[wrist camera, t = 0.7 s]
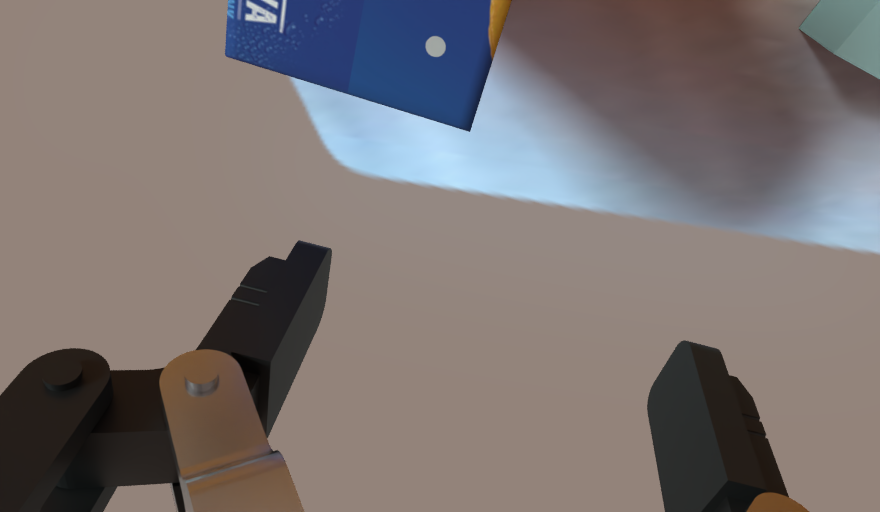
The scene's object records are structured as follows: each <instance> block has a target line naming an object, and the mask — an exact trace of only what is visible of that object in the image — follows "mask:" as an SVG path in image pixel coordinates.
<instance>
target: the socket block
mask: <svg viewBox="0 0 880 512" xmlns="http://www.w3.org/2000/svg"><path fill="white" fill-rule="evenodd" d="M799 29H800V30H801V31H803V32H804V33H806V34H807V35H808V36H810V37H811V38H812V39H814V40H815V41H817V42H818V43H819V44H821V45H822V46H823V47H825V48H826V49H828V50H829V51H830V52H832V53H833V54H835V55H836V56H838V57H840V58H842V59H844V60H846V61H847V62H849V63H851V64H853V65H855V66H856V67H858V68H860V69H862V70H864V71H865V72H867V73H869V74H871V75H873V76H874V77H876V78H878V79H880V0H820V2H819V3H818V4H817V5H816V7H815V8H814V9H813V10H812V12H811V13H810V14H809V16H808V17H807V18H806V19H805V21H804V22H803V23H802V24H801V26H800V27H799Z"/></svg>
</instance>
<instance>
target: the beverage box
mask: <svg viewBox="0 0 880 512" xmlns="http://www.w3.org/2000/svg"><path fill="white" fill-rule="evenodd" d="M511 1H512V0H228V13H227V31H226V49H225V55H226V56H227V57H230V58H233V59H236V60H239V61H242V62H246V63H249V64H252V65H255V66H259V67H262V68H265V69H269V70H272V71H275V72H278V73H281V74H284V75H288V76H291V77H294V78H297V79H301V80H304V81H307V82H310V83H314V84H317V85H320V86H323V87H327V88H330V89H333V90H336V91H340V92H343V93H346V94H349V95H353V96H356V97H359V98H362V99H366V100H369V101H372V102H375V103H378V104H382V105H385V106H388V107H391V108H395V109H398V110H401V111H404V112H408V113H411V114H414V115H417V116H421V117H424V118H427V119H430V120H434V121H437V122H440V123H443V124H447V125H450V126H453V127H456V128H459V129H463V130H466V131H469V132H470V130H471V127H472V123H473V120H474V117H475V114H476V111H477V108H478V105H479V101H480V98H481V95H482V92H483V89H484V86H485V83H486V79H487V76H488V73H489V70H490V67H491V64H492V61H493V57H494V54H495V51H496V48H497V45H498V42H499V38H500V35H501V32H502V29H503V26H504V23H505V20H506V16H507V13H508V10H509V7H510V4H511Z"/></svg>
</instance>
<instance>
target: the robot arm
mask: <svg viewBox="0 0 880 512" xmlns="http://www.w3.org/2000/svg"><path fill="white" fill-rule="evenodd" d="M331 256H332V250H331V248H327V247H323V246H319V245H315V244H311V243H307V242H303V241H298V242H297V243H296V244H295V246H294V248H293V249H292V251H291V253H290V254H289V256H288V258H287V259H286V260H282V259H278V258H274V257H270V256H269V257H268V258H266V259H265V260H263V261H261V262H260V263H258V264H256V265H255V266H253V267H251V269H250V270H249V272H248V273H247V274H246V276H245V277H244V279H243V281H242V282H241V283H240V287H238V288H237V289H236V291H235V292H234V294H233V295H232V298H231V300H229V302H228V303H227V304H226V306H225V307H224V309H223V311H222V312H221V313H220V315H219V316H218V318H217V319H216V321H215V323H214V324H213V325H212V327H211V328H210V330H209V331H208V333H207V335H206V336H205V337H204V339H203V340H202V342H201V343H200V345H199V346H198V347H197V349H196V350H195V351H190V352H187V353H184V354H182V355H180V356H178V357H176V358H175V359H173V360H172V361H171V362H170V363H168V365H167V366H166V367H165V368H161V369H154V370H118V371H117V370H113V371H112V370H111V371H110V368H109V365H108V363H107V361H106V360H105V359H104V358H103V357H102V356H100V355H99V354H97V353H95V352H93V351H90V350H85V349H76V348H73V349H72V348H71V349H62V350H57V351H54V352H51V353H47V354H45V355H43V356H41V357H39V358H37V359H36V360H33V361H32V362H31V363H29V364H28V365H27V366H26V367H25V368H24V369H23V370H22V371H21V372H20V374H18V376H17V377H16V378H15V379H14V380H13V381H12V383H11V384H10V385H9V386H8V387H7V388H6V390H5V391H4V392H3V393H2V394H1V395H0V512H103V511H104V509H105V507H106V506H107V504H108V502H109V500H110V498H111V497H112V495H113V493H114V492H115V490H116V488H117V486H131V485H147V484H163V483H170V486H171V490H172V495H173V499H174V504H175V508H176V512H304V509H303V507H302V504H301V501H300V499H299V496H298V493H297V491H296V488H295V486H294V483H293V481H292V478H291V475H290V473H289V470H288V467H287V465H286V463H285V460H284V458H283V456H282V454H281V453H280V452H279V451H272V449H271V447H270V445H269V443H268V440H267V438H268V436H269V434H270V432H271V429H272V427H273V425H274V423H275V421H276V418H277V416H278V414H279V412H280V410H281V407H282V405H283V403H284V401H285V399H286V396H287V394H288V392H289V390H290V388H291V385H292V383H293V381H294V379H295V377H296V374H297V372H298V370H299V368H300V366H301V363H302V361H303V359H304V357H305V355H306V352H307V350H308V348H309V345H310V344H311V341H312V339H313V337H314V335H315V333H316V331H317V328H318V326H319V323H320V321H321V318H322V314H323V311H324V307H325V302H326V295H327V287H328V279H329V272H330V264H331ZM647 410H648V417H649V423H650V428H651V434H652V439H653V445H654V451H655V457H656V462H657V468H658V474H659V480H660V485H661V491H662V496H663V502H664V508H665V512H809V511H808V510H807V509H805V508H804V507H803V506H802V505H800V504H799V503H797V502H796V501H794V500H792V499H791V498H789V496H788V493H787V490H786V488H785V485H784V482H783V480H782V477H781V474H780V471H779V469H778V466H777V463H776V460H775V458H774V455H773V452H772V449H771V447H770V444H769V441H768V439H767V438H765V436H766V433H765V431H764V427H763V425H762V422H760V421H759V419H760V417H759V414H758V411H757V408H756V406H755V403H754V400H753V398H752V396H751V395H750V394H749V392H748V391H747V390H746V388H745V387H744V386H743V385H742V383H741V382H740V381H739V379H738V378H737V377H734V376H729V374H728V371H727V368H726V365H725V363H724V360H723V357H722V354H721V352H720V351H719V350H718V349H716V348H712V347H708V346H705V345H701V344H697V343H693V342H689V341H681V342H680V343H679V344H678V345H677V347H676V348H675V350H674V352H673V353H672V355H671V356H670V358H669V360H668V361H667V363H666V364H665V366H664V367H663V369H662V371H661V372H660V374H659V376H658V377H657V379H656V380H655V382H654V384H653V386H652V388H651V390H650V393H649V397H648V405H647Z"/></svg>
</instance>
